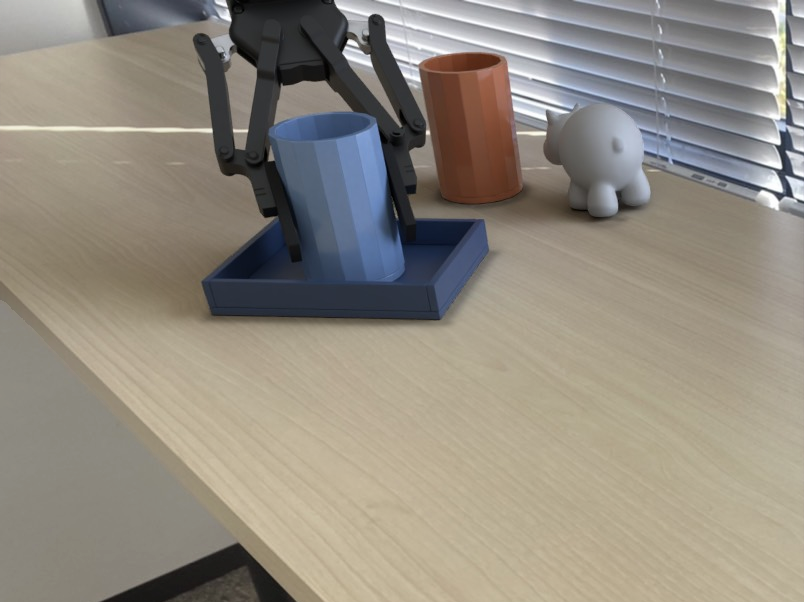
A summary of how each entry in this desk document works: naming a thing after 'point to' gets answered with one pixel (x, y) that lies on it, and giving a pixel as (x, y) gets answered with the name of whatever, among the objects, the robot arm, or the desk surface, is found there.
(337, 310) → the blue tray
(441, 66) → the clay cup
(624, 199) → the round bodied animal figurine
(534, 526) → the desk surface
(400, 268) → the blue cup
